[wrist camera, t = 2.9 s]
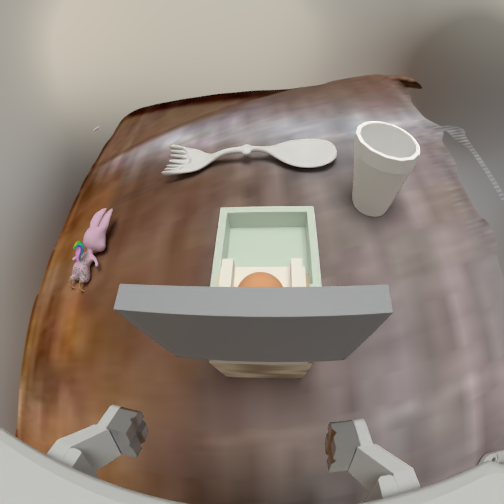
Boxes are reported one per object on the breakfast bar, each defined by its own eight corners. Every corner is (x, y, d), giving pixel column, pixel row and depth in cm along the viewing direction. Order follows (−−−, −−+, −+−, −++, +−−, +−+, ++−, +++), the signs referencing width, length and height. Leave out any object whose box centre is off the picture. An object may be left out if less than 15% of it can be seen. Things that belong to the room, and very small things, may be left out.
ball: (284, 278, 26) (285, 265, 22) (284, 323, 24) (285, 317, 20) (239, 278, 26) (233, 265, 22) (238, 322, 25) (231, 317, 21)
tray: (311, 223, 42) (313, 206, 39) (317, 305, 35) (321, 291, 32) (225, 225, 43) (220, 207, 40) (216, 304, 36) (209, 291, 33)
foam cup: (402, 224, 41) (430, 163, 30) (350, 225, 42) (368, 159, 31) (386, 182, 46) (404, 123, 35) (338, 182, 47) (348, 119, 36)
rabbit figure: (96, 297, 40) (127, 214, 45) (74, 286, 34) (110, 195, 40) (71, 288, 41) (101, 211, 46) (49, 277, 36) (84, 194, 41)
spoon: (173, 155, 55) (169, 142, 52) (329, 144, 53) (331, 131, 50) (165, 185, 50) (159, 171, 47) (340, 173, 48) (342, 159, 46)
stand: (302, 307, 35) (309, 273, 28) (303, 377, 30) (312, 364, 23) (231, 307, 36) (218, 273, 29) (226, 376, 31) (209, 362, 24)
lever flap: (341, 362, 22) (392, 312, 12) (182, 359, 24) (113, 309, 13) (334, 272, 27) (362, 179, 17) (193, 272, 29) (151, 185, 18)
